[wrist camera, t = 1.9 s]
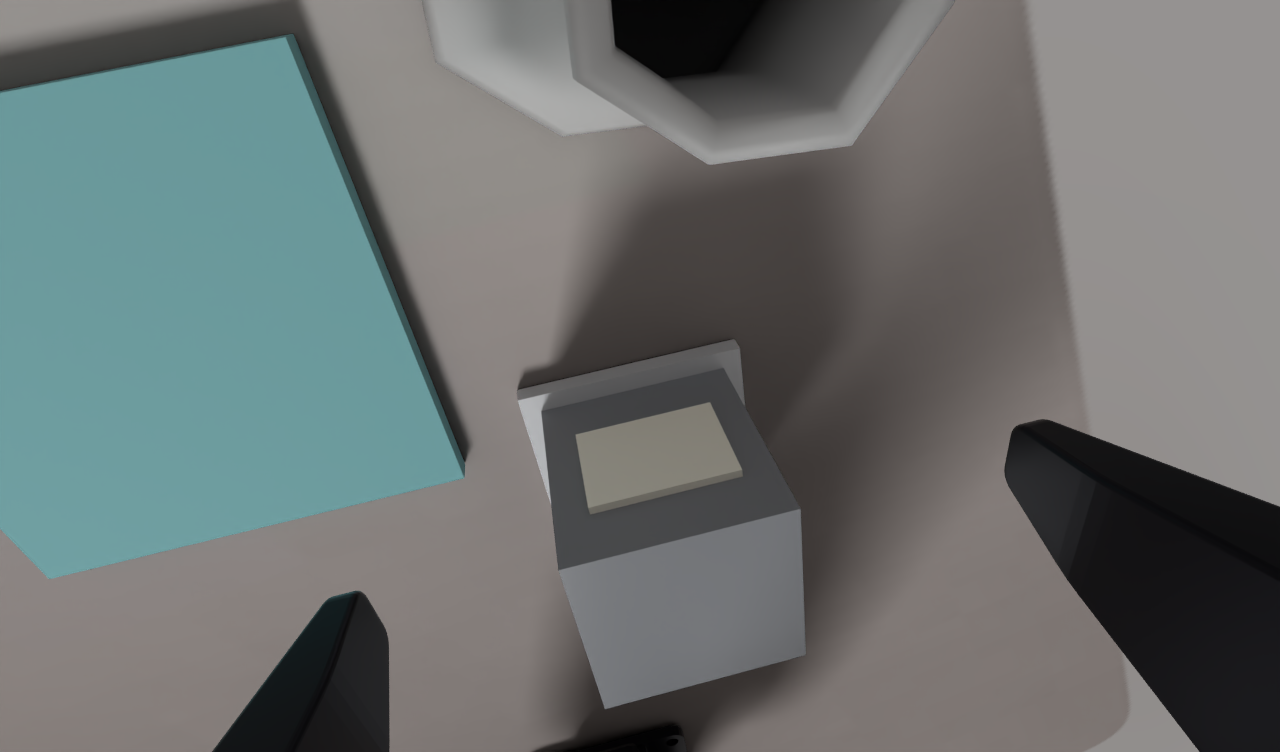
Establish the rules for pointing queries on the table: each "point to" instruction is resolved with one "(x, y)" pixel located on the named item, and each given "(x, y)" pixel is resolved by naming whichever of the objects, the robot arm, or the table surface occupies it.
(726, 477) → the box
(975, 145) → the table surface
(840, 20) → the flask
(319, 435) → the mat
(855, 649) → the table surface
